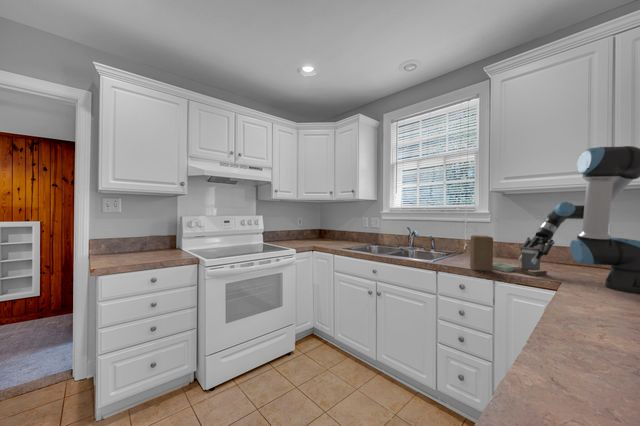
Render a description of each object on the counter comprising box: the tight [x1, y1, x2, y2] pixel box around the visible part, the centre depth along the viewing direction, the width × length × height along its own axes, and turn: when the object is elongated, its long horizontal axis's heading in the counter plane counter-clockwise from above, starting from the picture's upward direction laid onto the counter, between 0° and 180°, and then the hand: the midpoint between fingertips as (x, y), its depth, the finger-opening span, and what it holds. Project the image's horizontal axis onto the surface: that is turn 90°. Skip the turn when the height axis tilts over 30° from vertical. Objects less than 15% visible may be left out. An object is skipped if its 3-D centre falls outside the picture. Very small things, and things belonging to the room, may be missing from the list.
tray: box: [493, 262, 521, 273], centre depth 168 cm, size 12×12×2 cm
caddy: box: [521, 247, 541, 272], centre depth 158 cm, size 6×6×12 cm
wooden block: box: [469, 234, 494, 273], centre depth 166 cm, size 10×10×20 cm
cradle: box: [514, 267, 547, 277], centre depth 158 cm, size 10×10×2 cm
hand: (526, 261), depth 157 cm, fingers closed on caddy, 6 cm apart
